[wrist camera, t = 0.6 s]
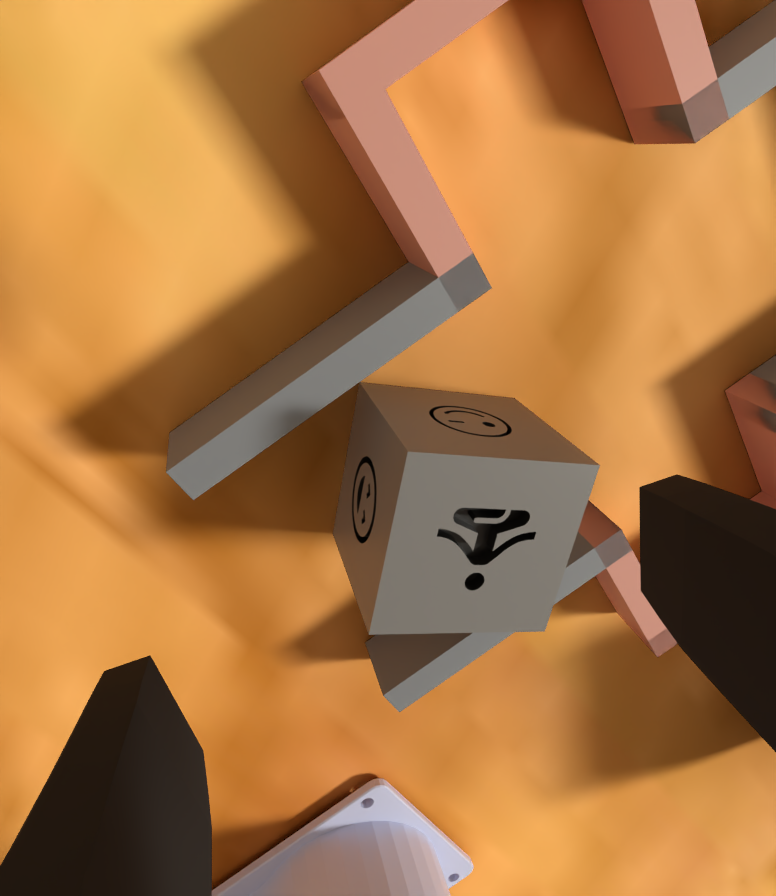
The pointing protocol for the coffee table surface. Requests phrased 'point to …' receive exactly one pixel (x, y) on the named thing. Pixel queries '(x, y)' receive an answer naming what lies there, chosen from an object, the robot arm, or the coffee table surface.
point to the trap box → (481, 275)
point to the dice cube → (456, 511)
